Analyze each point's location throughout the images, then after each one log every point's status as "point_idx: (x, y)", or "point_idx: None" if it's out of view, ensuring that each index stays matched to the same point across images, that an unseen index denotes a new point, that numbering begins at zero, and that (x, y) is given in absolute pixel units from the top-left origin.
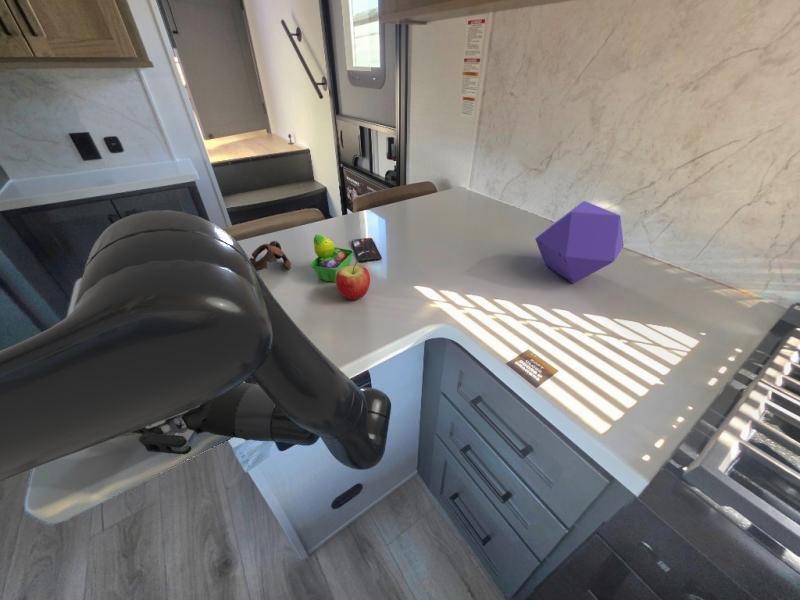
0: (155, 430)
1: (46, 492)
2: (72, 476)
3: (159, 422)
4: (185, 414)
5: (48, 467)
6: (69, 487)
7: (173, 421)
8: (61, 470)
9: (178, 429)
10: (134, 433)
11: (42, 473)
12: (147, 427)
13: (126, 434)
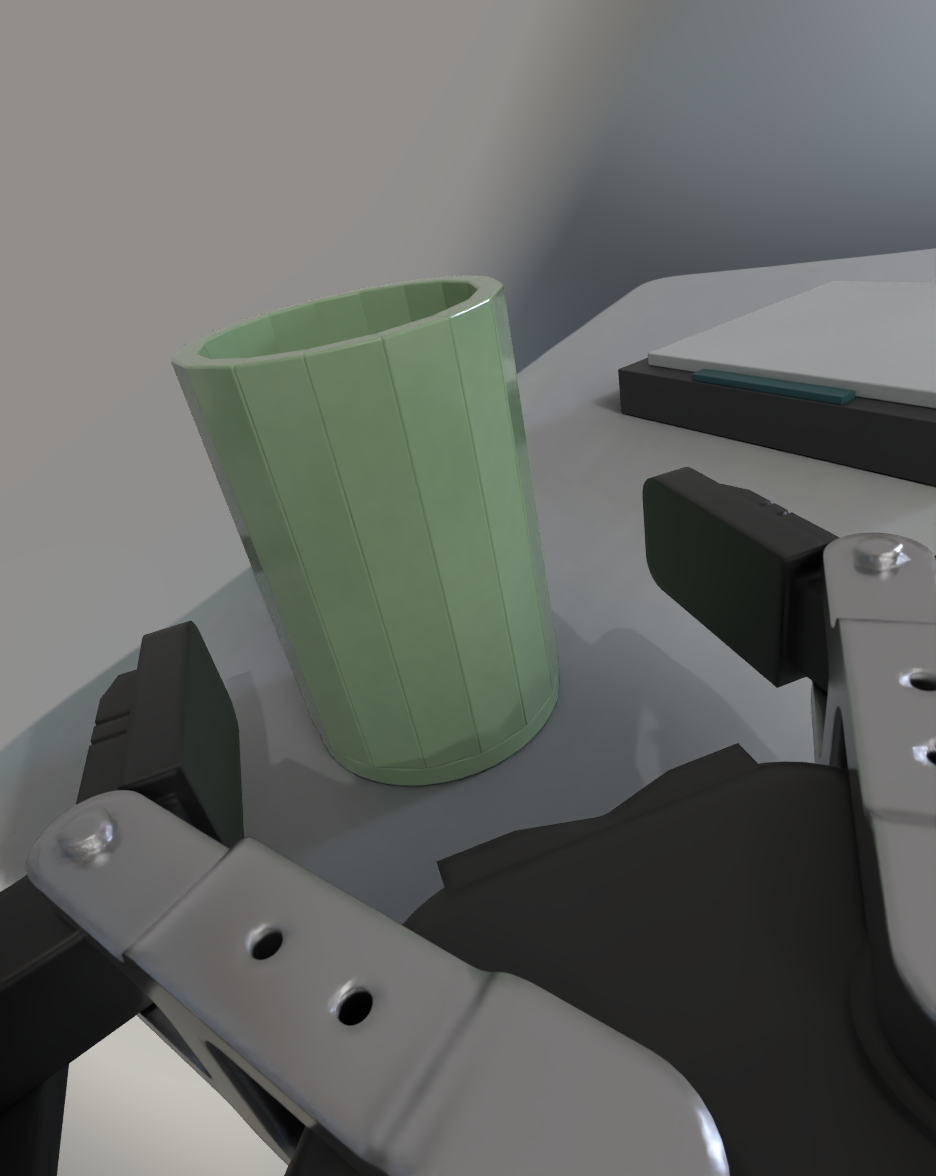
0: (58, 956)
1: (3, 771)
2: (78, 776)
3: (118, 898)
4: (332, 1145)
5: None
6: (20, 820)
7: (203, 1047)
8: None
9: (278, 1149)
10: (342, 765)
11: (93, 687)
12: (40, 849)
13: (323, 742)
